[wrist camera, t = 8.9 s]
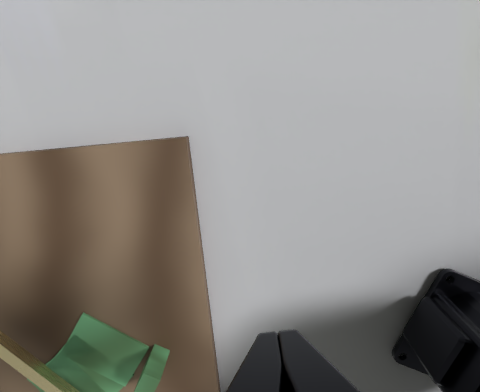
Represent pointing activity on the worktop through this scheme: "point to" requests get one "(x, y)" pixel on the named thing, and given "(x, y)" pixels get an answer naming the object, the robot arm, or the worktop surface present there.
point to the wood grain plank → (32, 367)
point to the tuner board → (106, 268)
